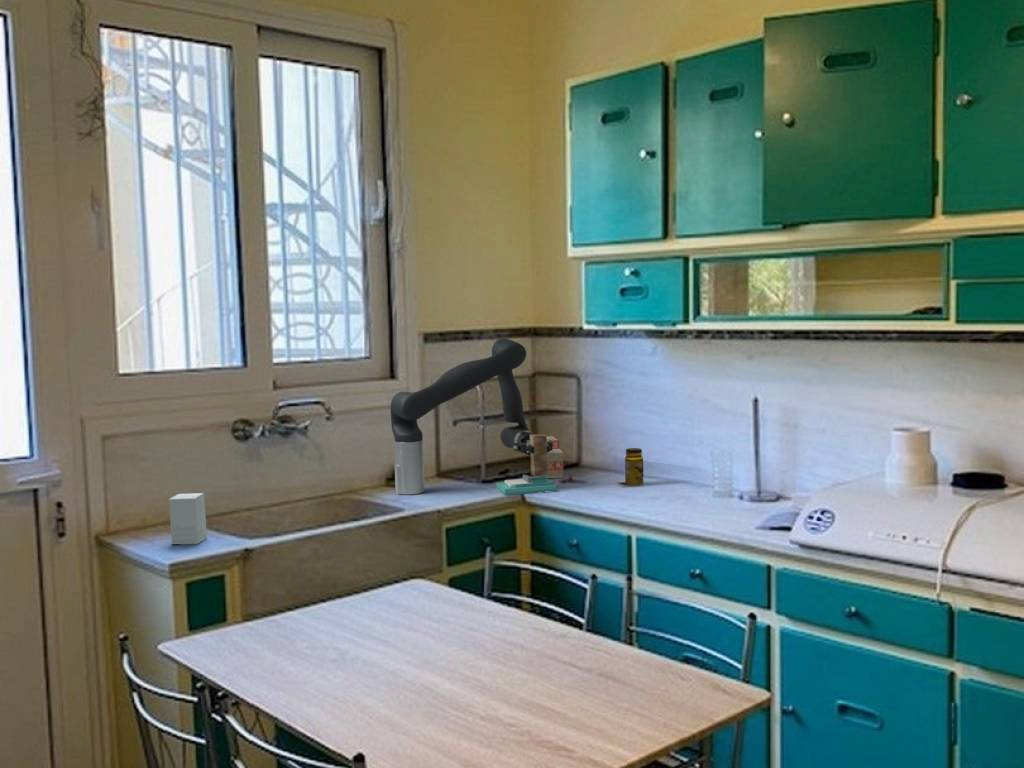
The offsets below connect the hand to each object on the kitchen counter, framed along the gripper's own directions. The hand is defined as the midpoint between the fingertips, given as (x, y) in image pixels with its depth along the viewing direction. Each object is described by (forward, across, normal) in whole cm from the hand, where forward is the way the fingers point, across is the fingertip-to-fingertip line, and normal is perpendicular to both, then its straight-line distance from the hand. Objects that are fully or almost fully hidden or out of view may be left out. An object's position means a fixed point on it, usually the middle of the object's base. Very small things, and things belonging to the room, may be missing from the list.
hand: (540, 449), depth 329 cm
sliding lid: (-3, +7, -11) cm, 14 cm away
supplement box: (+33, +108, -13) cm, 114 cm away
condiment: (+1, -31, -14) cm, 34 cm away
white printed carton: (-29, -11, -14) cm, 35 cm away
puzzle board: (-2, +5, -14) cm, 15 cm away
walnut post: (-3, 0, -9) cm, 9 cm away
